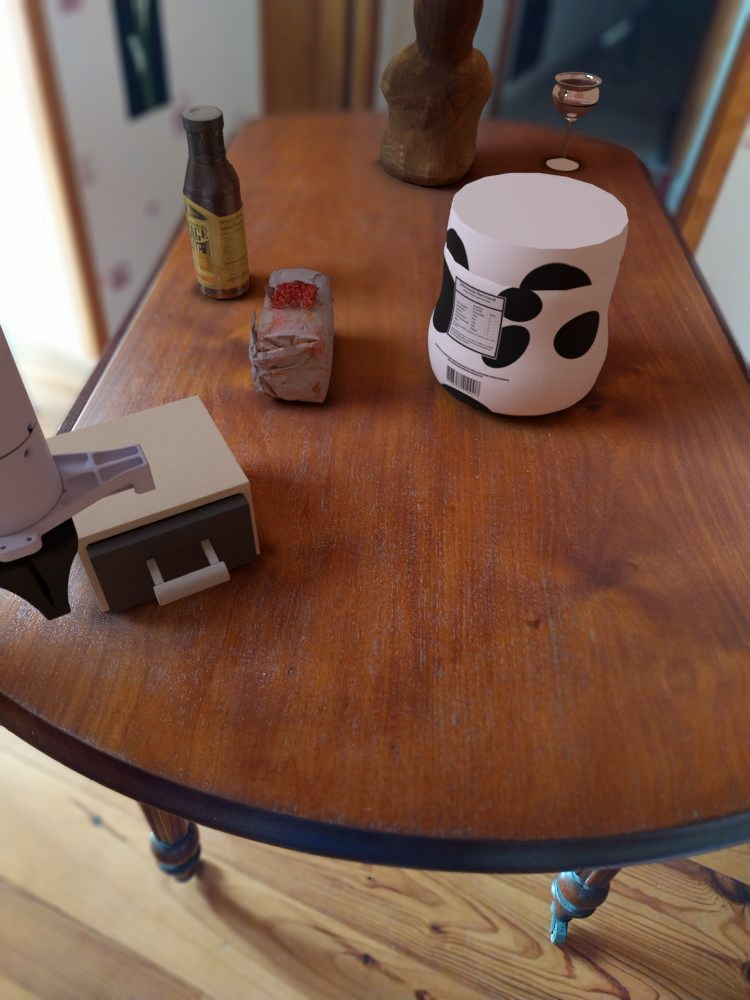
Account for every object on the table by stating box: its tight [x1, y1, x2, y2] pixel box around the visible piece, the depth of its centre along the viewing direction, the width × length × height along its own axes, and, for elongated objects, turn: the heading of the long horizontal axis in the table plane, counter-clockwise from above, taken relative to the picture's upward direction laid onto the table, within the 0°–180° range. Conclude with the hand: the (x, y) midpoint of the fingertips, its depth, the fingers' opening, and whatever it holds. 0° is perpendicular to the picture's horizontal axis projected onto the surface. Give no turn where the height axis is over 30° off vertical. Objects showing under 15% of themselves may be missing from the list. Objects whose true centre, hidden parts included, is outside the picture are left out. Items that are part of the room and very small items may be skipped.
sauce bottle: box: [181, 104, 251, 300], centre depth 82 cm, size 7×6×20 cm
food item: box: [248, 267, 335, 404], centre depth 74 cm, size 14×8×10 cm, turn 1°
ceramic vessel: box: [379, 0, 495, 187], centre depth 102 cm, size 16×22×30 cm
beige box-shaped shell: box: [45, 394, 261, 613], centre depth 59 cm, size 12×13×8 cm
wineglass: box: [546, 71, 603, 172], centre depth 112 cm, size 7×7×12 cm
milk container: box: [427, 172, 629, 418], centre depth 71 cm, size 17×17×18 cm
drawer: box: [86, 494, 258, 615], centre depth 56 cm, size 14×11×6 cm
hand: (56, 604), depth 45 cm, fingers closed
